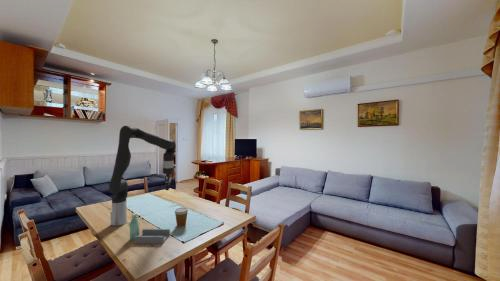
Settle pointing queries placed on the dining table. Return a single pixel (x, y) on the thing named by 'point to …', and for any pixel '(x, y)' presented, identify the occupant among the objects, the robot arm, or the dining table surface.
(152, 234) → the u rest
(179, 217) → the disposable coffee cup
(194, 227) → the dining table surface
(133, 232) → the bottle
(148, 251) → the dining table surface
